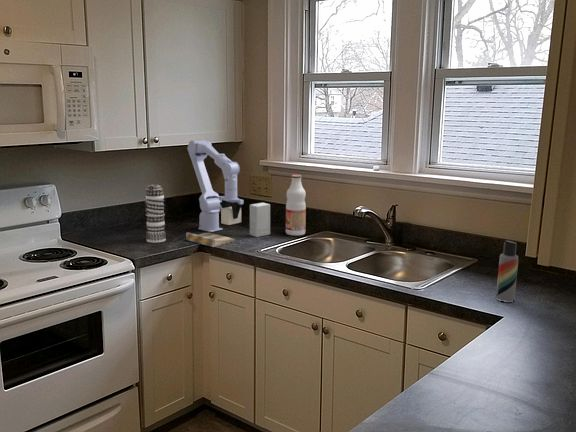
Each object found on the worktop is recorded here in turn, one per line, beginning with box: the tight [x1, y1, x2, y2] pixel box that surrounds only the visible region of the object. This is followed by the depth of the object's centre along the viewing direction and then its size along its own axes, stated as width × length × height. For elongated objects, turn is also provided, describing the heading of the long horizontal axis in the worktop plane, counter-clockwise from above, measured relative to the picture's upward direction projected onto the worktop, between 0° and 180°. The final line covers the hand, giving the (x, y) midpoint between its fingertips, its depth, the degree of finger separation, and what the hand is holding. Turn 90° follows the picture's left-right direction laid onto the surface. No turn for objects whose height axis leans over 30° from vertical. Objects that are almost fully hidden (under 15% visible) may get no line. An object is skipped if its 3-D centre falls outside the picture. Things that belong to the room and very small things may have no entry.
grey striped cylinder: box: [144, 183, 167, 244], centre depth 260 cm, size 9×9×25 cm
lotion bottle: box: [495, 240, 519, 301], centre depth 190 cm, size 6×6×20 cm
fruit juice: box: [285, 174, 307, 236], centre depth 277 cm, size 9×9×28 cm
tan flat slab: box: [185, 231, 236, 248], centre depth 263 cm, size 18×14×3 cm
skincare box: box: [249, 202, 271, 238], centre depth 274 cm, size 8×6×15 cm
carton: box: [220, 206, 242, 226], centre depth 272 cm, size 5×8×7 cm, turn 139°
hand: (231, 217), depth 272 cm, fingers closed on carton, 5 cm apart
